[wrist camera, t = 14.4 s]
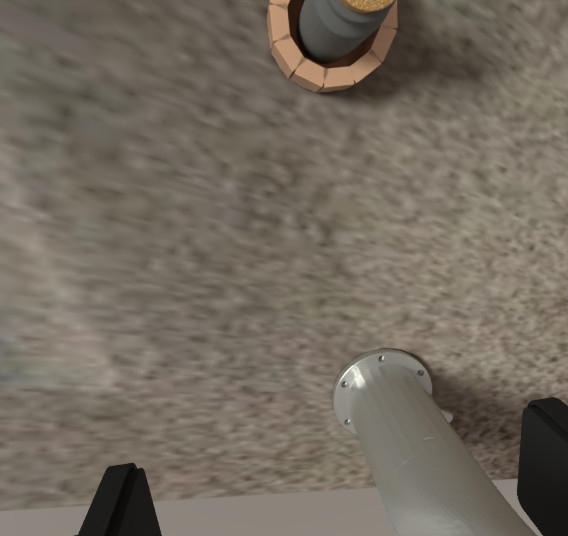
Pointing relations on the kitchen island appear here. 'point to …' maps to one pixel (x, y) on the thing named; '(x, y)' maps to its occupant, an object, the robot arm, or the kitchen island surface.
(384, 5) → the bottle
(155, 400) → the kitchen island surface
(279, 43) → the segmented wooden bowl
